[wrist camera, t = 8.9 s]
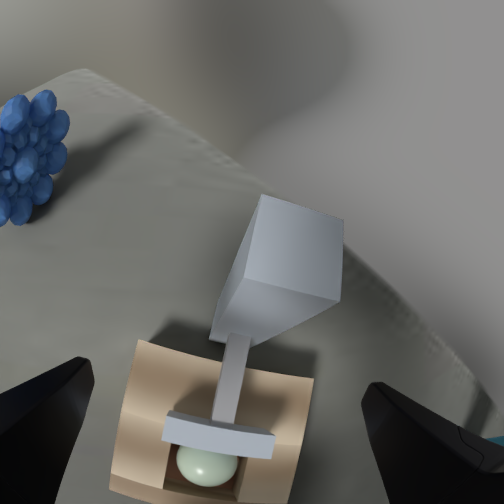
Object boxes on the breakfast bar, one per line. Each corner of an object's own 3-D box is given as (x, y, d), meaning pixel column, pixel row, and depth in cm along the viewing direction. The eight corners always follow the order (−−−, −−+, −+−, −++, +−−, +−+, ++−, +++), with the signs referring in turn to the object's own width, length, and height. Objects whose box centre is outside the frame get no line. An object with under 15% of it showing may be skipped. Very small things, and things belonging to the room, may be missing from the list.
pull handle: (249, 439, 17) (344, 515, 5) (168, 422, 16) (135, 501, 4) (273, 316, 22) (377, 232, 10) (198, 297, 21) (217, 181, 9)
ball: (247, 435, 14) (233, 442, 17) (183, 423, 14) (180, 431, 17) (240, 492, 11) (227, 488, 14) (172, 481, 11) (171, 478, 14)
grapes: (61, 149, 24) (36, 62, 14) (95, 170, 24) (71, 70, 13) (-8, 223, 19) (-62, 148, 8) (19, 257, 18) (-51, 177, 8)
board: (270, 504, 15) (282, 518, 12) (118, 476, 13) (108, 489, 11) (297, 379, 20) (313, 378, 17) (145, 344, 19) (138, 339, 16)
